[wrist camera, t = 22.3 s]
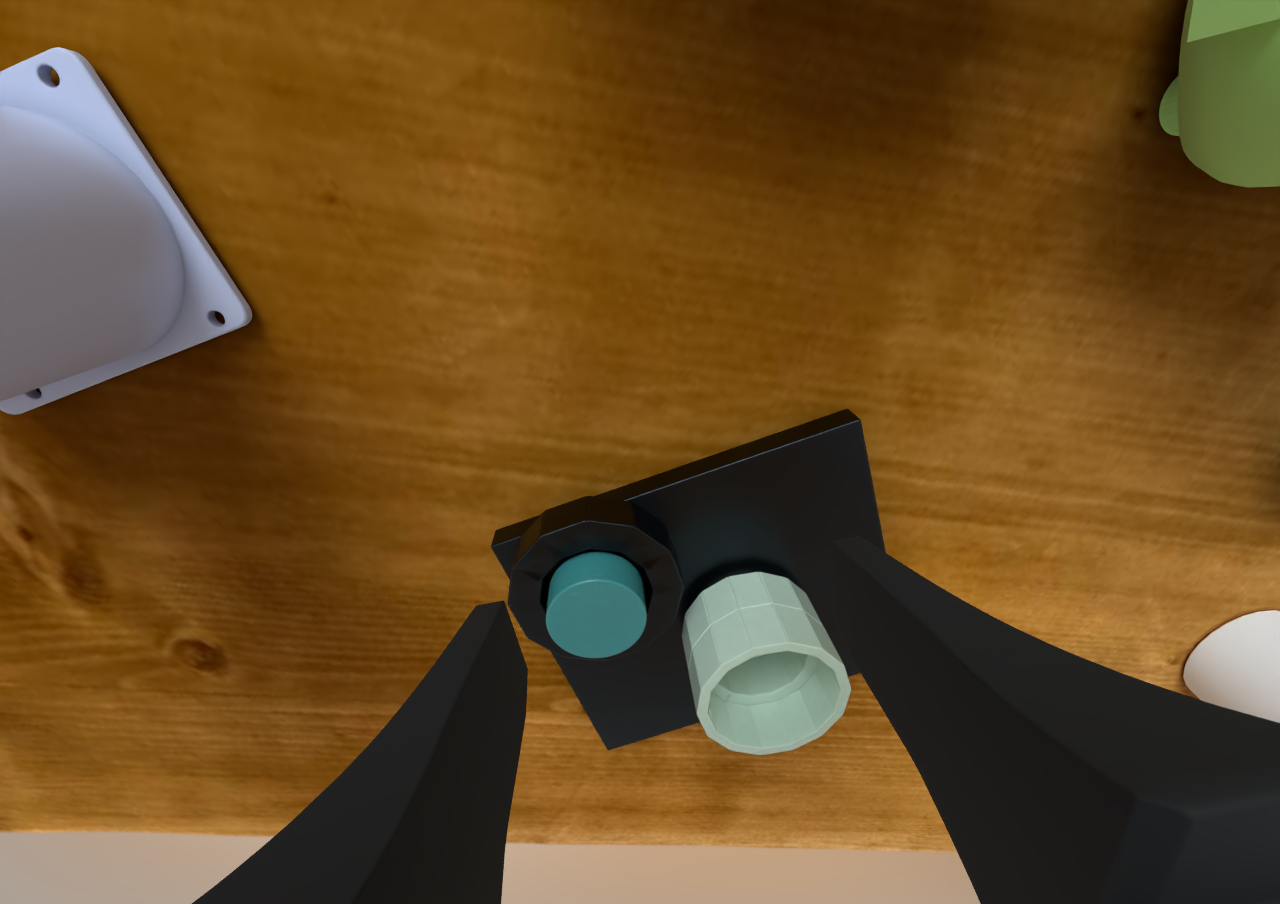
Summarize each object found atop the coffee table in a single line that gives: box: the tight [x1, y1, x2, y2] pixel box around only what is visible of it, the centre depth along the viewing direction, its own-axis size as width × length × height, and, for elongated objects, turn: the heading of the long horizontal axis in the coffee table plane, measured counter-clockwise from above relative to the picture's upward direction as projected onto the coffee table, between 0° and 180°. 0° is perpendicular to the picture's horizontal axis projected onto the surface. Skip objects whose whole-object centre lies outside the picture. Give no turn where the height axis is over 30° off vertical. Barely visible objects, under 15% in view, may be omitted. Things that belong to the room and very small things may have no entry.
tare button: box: [546, 552, 647, 658], centre depth 21 cm, size 4×4×2 cm
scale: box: [491, 409, 886, 750], centre depth 24 cm, size 15×14×3 cm
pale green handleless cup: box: [682, 572, 851, 755], centre depth 22 cm, size 6×6×4 cm
